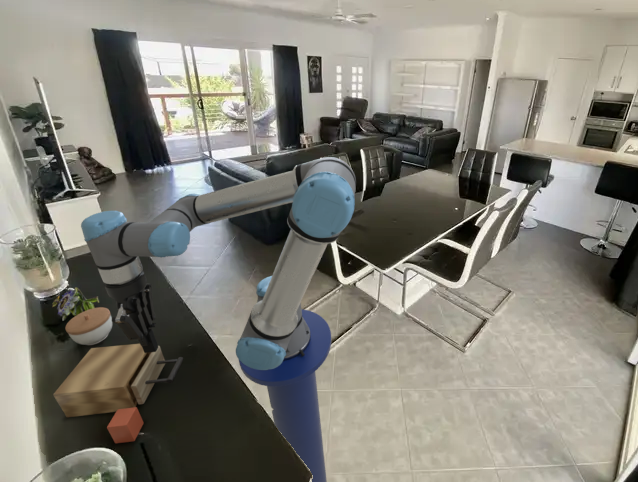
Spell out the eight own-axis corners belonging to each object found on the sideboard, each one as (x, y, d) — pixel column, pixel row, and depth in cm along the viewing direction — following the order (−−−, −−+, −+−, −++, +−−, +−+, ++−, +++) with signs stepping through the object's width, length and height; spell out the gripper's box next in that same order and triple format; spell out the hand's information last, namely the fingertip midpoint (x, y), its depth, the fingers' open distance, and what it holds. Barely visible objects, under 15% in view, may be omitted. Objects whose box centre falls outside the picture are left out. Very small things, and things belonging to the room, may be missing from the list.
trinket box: (116, 341, 102) (106, 318, 98) (72, 357, 96) (60, 333, 93) (117, 320, 110) (108, 298, 106) (77, 334, 104) (65, 311, 101)
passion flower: (72, 330, 113) (47, 304, 111) (106, 307, 120) (83, 282, 118) (70, 329, 105) (43, 301, 103) (107, 305, 112) (83, 279, 110)
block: (144, 422, 79) (136, 406, 77) (134, 441, 75) (126, 425, 73) (125, 425, 79) (117, 409, 76) (115, 443, 75) (106, 427, 72)
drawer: (190, 360, 94) (184, 343, 92) (171, 400, 83) (164, 382, 80) (111, 368, 92) (103, 351, 89) (81, 411, 81) (71, 393, 78)
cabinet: (159, 363, 94) (151, 342, 91) (134, 409, 82) (123, 386, 79) (101, 369, 92) (91, 348, 89) (66, 417, 80) (52, 394, 77)
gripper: (122, 260, 79) (148, 332, 89) (86, 296, 68) (121, 373, 77) (155, 258, 80) (177, 329, 90) (124, 293, 69) (154, 370, 78)
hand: (151, 350), depth 84 cm, fingers closed
